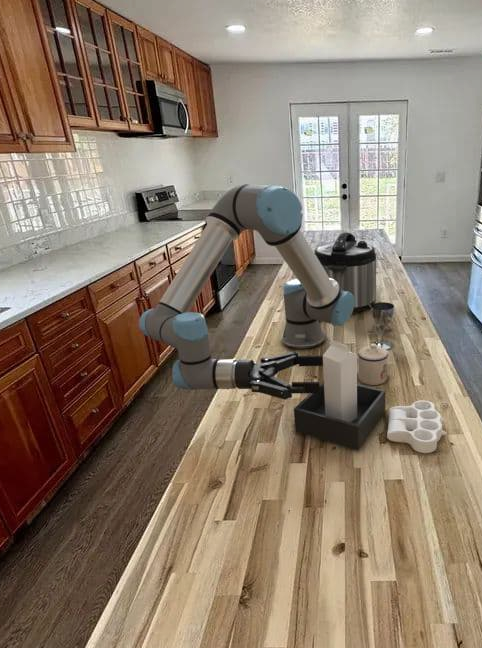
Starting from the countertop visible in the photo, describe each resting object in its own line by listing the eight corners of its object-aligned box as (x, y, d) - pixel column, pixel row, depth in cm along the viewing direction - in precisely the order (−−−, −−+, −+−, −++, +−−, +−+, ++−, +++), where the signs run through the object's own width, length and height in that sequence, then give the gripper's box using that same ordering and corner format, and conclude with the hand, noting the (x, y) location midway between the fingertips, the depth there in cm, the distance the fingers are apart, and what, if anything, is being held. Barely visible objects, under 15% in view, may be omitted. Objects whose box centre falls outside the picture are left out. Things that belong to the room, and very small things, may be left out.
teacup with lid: (386, 386, 130) (387, 351, 125) (356, 385, 131) (356, 350, 126) (388, 367, 141) (389, 335, 136) (360, 366, 142) (360, 333, 137)
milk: (342, 428, 110) (340, 351, 101) (325, 419, 114) (321, 343, 104) (357, 418, 114) (357, 342, 105) (340, 409, 118) (338, 335, 108)
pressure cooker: (347, 290, 214) (346, 224, 200) (391, 304, 195) (393, 232, 181) (299, 306, 195) (294, 234, 181) (342, 322, 176) (340, 244, 163)
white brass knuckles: (390, 408, 120) (444, 412, 118) (386, 450, 104) (448, 455, 102) (390, 398, 118) (445, 401, 116) (386, 438, 102) (450, 443, 100)
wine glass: (396, 343, 157) (398, 304, 151) (386, 352, 151) (387, 311, 145) (377, 339, 161) (377, 300, 155) (366, 347, 155) (366, 307, 149)
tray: (328, 398, 125) (327, 377, 122) (385, 412, 118) (385, 390, 115) (295, 431, 111) (293, 408, 108) (358, 450, 104) (357, 426, 101)
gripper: (249, 364, 122) (325, 363, 121) (226, 414, 100) (318, 414, 99) (246, 339, 119) (323, 339, 118) (221, 386, 96) (317, 386, 96)
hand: (321, 373), depth 109 cm, fingers open, 13 cm apart
